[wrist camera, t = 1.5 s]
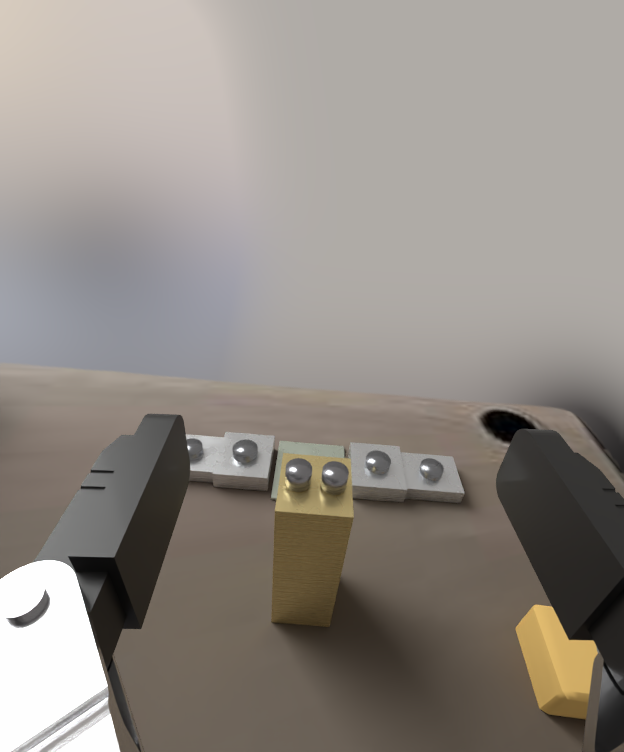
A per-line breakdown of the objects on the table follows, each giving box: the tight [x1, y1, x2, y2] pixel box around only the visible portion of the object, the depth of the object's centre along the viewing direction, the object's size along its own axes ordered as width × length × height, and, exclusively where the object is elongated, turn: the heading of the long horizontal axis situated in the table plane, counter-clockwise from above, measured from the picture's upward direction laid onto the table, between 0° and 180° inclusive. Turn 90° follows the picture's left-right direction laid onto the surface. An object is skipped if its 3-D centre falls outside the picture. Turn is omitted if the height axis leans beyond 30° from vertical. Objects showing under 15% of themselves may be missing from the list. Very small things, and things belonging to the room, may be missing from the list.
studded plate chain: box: [186, 432, 465, 503], centre depth 42 cm, size 32×8×3 cm, turn 87°
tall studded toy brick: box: [272, 453, 354, 627], centre depth 28 cm, size 4×4×15 cm
